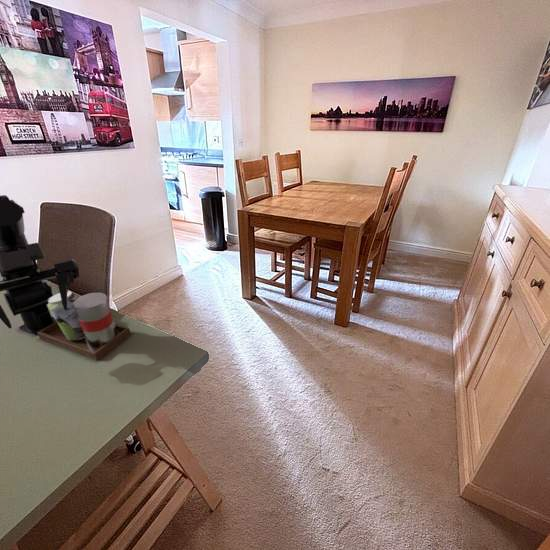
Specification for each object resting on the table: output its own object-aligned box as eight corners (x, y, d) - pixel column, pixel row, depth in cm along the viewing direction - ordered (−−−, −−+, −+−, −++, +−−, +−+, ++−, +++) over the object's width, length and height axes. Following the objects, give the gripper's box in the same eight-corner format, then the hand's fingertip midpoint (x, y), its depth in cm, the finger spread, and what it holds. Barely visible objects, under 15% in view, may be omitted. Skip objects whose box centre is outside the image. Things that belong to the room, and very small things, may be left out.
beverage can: (91, 341, 74) (77, 300, 68) (57, 346, 72) (39, 304, 66) (97, 326, 79) (85, 286, 73) (66, 329, 77) (50, 289, 72)
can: (81, 346, 72) (65, 304, 66) (104, 329, 78) (92, 290, 72) (102, 353, 70) (88, 311, 64) (124, 336, 76) (113, 296, 70)
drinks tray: (39, 339, 75) (36, 332, 74) (77, 316, 83) (74, 310, 82) (97, 360, 69) (94, 353, 68) (131, 334, 77) (129, 327, 76)
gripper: (-68, 243, 50) (-39, 328, 48) (62, 222, 61) (91, 290, 59) (-45, 269, 59) (-19, 341, 57) (66, 246, 70) (91, 306, 68)
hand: (39, 318), depth 60 cm, fingers open, 9 cm apart
